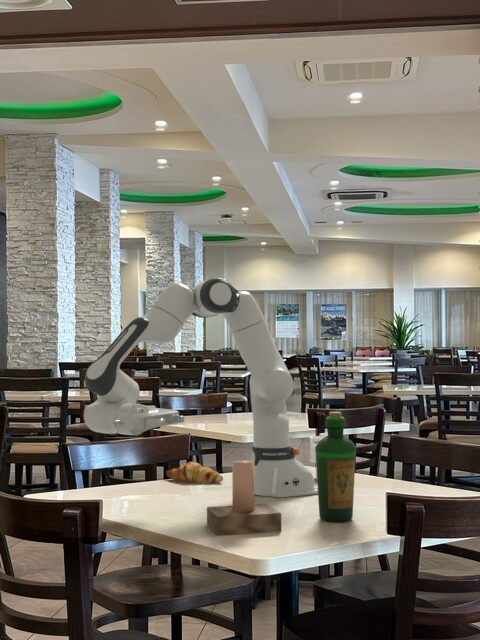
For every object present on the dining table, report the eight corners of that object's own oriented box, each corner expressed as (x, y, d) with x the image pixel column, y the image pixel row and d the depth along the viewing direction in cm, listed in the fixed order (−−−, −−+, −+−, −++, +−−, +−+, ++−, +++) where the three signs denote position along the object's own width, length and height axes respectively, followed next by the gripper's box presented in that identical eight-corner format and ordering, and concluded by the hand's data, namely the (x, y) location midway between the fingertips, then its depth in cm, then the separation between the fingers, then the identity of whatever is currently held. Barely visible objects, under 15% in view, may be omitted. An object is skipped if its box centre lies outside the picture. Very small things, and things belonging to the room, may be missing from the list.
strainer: (334, 477, 279) (333, 433, 279) (325, 480, 273) (325, 435, 273) (315, 475, 282) (315, 432, 283) (306, 478, 276) (306, 434, 277)
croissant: (226, 492, 270) (231, 470, 274) (215, 483, 262) (220, 459, 266) (169, 487, 278) (175, 465, 282) (157, 477, 270) (163, 454, 274)
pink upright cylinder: (251, 507, 207) (250, 459, 207) (257, 511, 201) (257, 463, 202) (230, 508, 205) (230, 460, 206) (235, 512, 200) (235, 463, 200)
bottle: (346, 525, 206) (345, 414, 206) (308, 520, 211) (307, 413, 212) (363, 517, 215) (362, 411, 215) (326, 513, 220) (325, 410, 221)
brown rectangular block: (267, 521, 211) (266, 503, 211) (281, 531, 200) (281, 512, 200) (207, 524, 207) (207, 507, 207) (218, 535, 195) (217, 516, 195)
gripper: (108, 411, 219) (149, 412, 212) (154, 405, 236) (193, 406, 229) (108, 434, 219) (149, 436, 211) (154, 426, 236) (194, 428, 229)
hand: (172, 421), depth 220 cm, fingers open, 8 cm apart
